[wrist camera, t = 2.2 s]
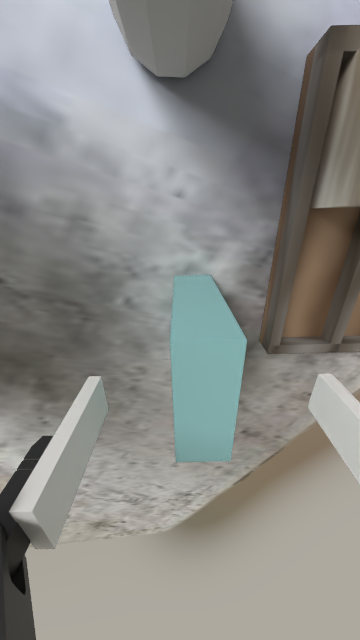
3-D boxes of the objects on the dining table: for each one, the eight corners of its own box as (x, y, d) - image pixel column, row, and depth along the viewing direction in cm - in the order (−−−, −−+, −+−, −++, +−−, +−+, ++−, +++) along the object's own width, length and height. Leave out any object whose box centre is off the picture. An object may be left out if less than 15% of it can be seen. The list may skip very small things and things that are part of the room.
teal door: (176, 353, 24) (175, 461, 14) (174, 275, 20) (170, 341, 10) (207, 352, 24) (230, 461, 14) (210, 275, 20) (247, 340, 10)
